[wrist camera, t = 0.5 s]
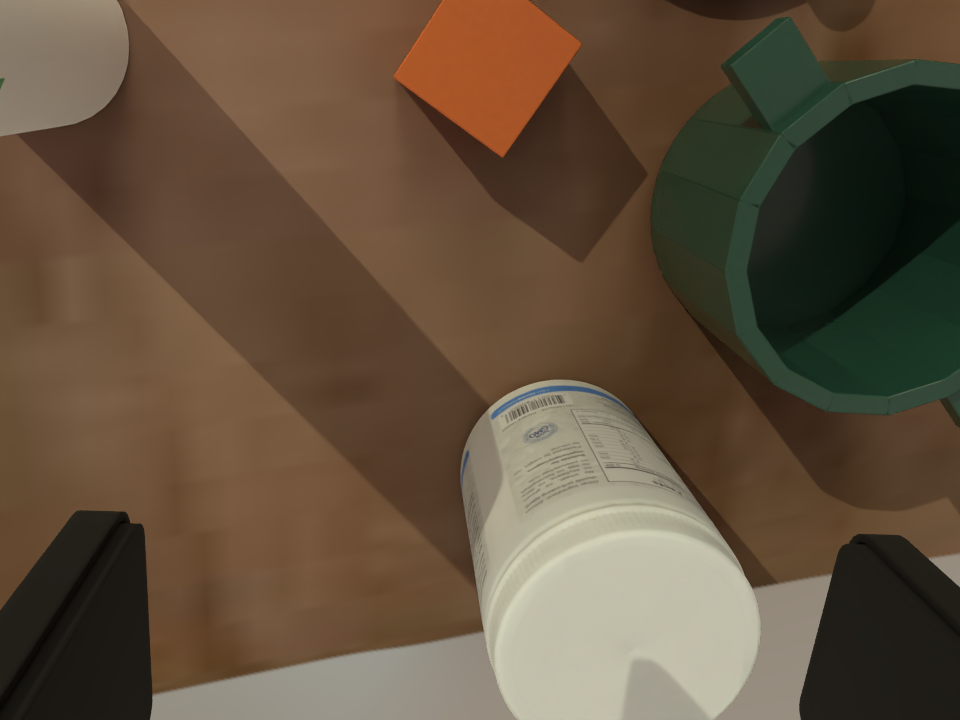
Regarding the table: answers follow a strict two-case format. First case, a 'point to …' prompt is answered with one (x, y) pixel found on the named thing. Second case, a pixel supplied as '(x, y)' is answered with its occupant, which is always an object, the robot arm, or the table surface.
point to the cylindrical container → (59, 61)
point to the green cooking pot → (823, 224)
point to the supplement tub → (599, 566)
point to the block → (488, 65)
